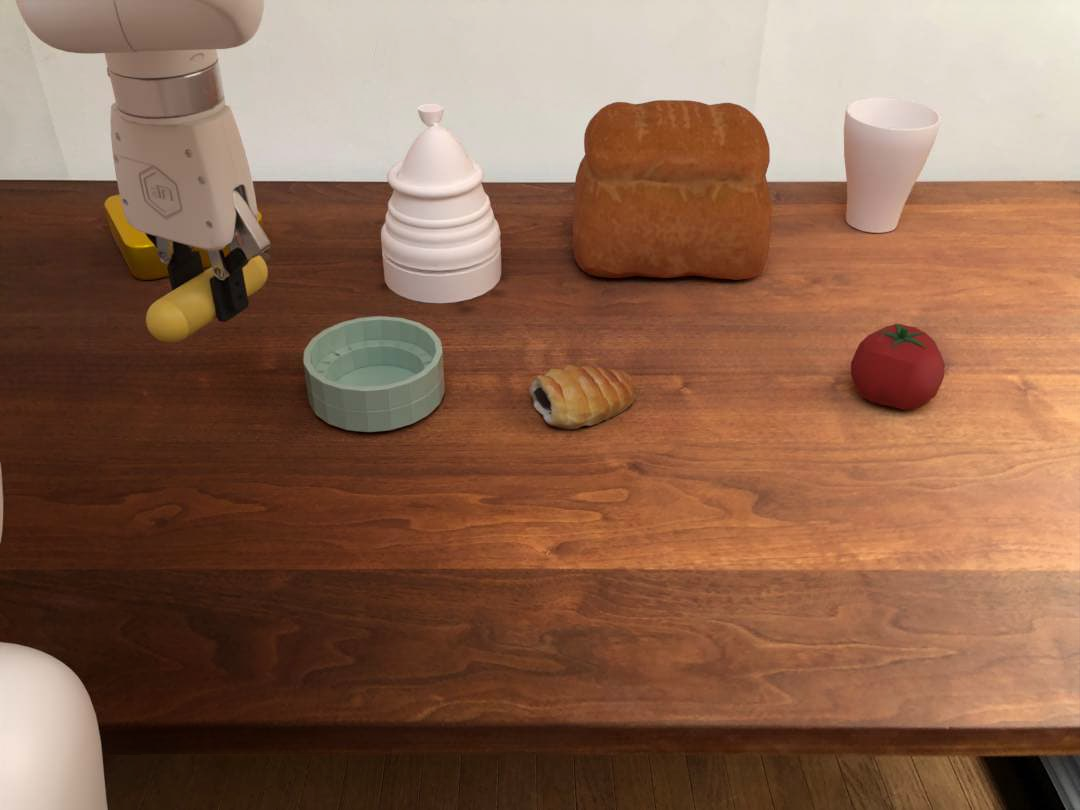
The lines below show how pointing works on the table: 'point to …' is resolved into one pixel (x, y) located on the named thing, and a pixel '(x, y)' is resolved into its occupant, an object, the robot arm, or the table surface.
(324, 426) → the table surface
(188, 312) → the yellow gas cartridge
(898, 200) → the cup
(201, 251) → the element tile
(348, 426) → the bowl
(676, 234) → the bread
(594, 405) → the pastry
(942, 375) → the tomato
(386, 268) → the honey pot
